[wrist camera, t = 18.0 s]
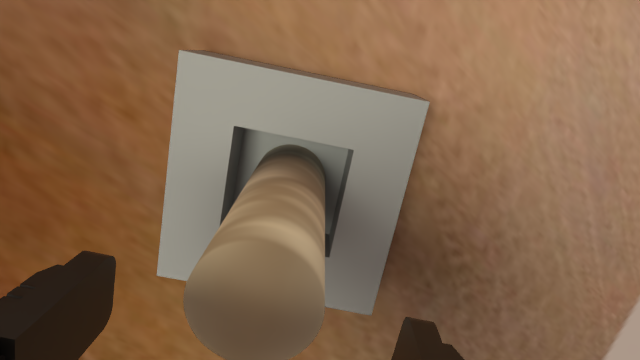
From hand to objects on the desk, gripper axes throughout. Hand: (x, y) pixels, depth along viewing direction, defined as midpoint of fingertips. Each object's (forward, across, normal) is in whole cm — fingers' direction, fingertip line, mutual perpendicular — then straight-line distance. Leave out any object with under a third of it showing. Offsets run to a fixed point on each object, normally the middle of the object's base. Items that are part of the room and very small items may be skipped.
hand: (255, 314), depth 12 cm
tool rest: (+14, 0, 0) cm, 14 cm away
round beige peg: (+13, 0, 0) cm, 13 cm away
